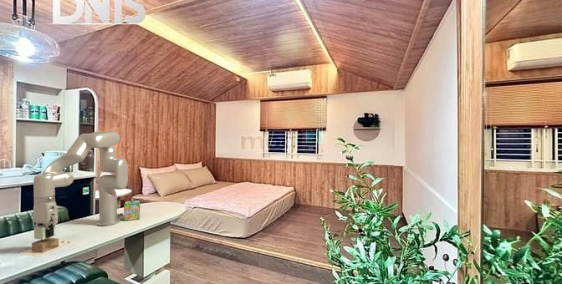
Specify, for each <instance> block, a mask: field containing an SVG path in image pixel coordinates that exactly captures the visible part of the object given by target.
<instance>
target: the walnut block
mask: <svg viewBox="0 0 562 284" xmlns="http://www.w3.org/2000/svg"><path fill="white" fill-rule="evenodd" d="M59 239H60V238H56V237H49V238H46V239H43V240H41V239H38V240H36V241H33V242H31V249H32V251H34V252H41V253H43V252H46V251H49V250H51V249H54V248H56V247H59Z"/></svg>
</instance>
